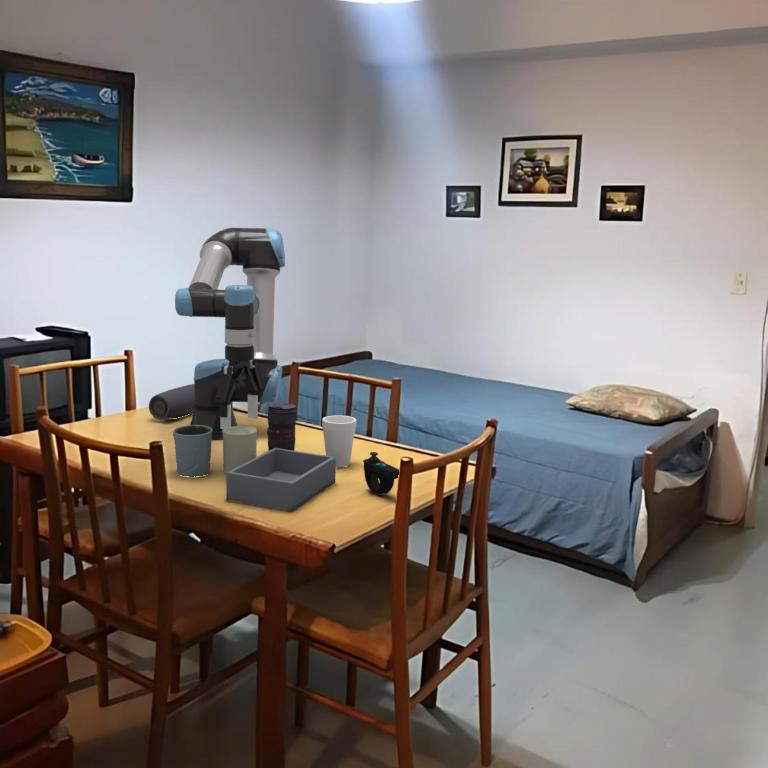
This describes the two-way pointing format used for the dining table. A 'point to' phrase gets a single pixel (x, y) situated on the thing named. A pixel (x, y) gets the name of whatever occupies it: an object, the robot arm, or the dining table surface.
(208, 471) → the blue-grey textured cup
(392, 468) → the controller
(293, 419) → the camera lens
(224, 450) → the can
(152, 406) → the bluetooth speaker
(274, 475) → the box
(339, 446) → the foam cup
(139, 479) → the dining table surface
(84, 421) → the dining table surface
